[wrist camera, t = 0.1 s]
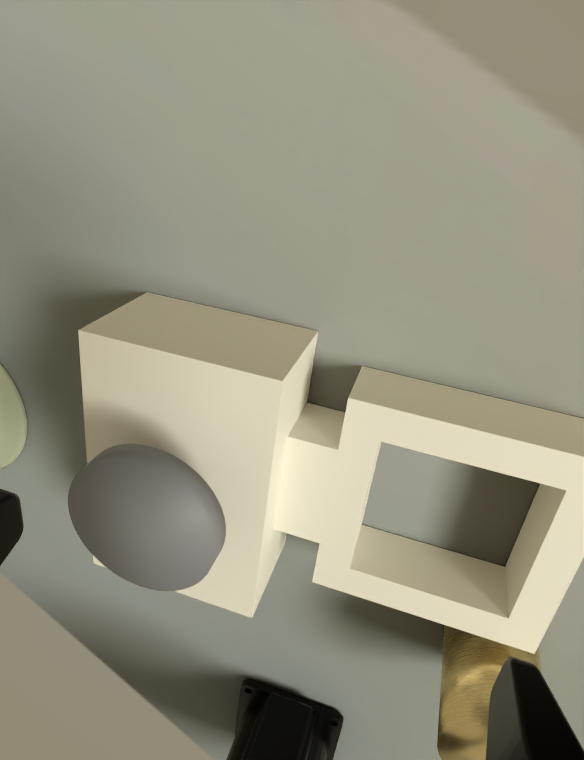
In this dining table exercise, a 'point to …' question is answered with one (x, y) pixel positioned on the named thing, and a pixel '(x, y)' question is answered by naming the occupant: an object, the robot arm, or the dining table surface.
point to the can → (11, 420)
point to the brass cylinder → (469, 691)
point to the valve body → (302, 472)
